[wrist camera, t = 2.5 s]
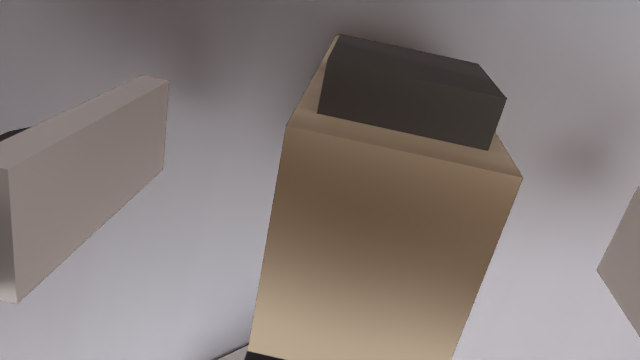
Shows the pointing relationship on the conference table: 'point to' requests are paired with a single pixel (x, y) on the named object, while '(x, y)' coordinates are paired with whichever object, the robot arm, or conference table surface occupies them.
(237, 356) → the container
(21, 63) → the conference table surface
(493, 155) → the tan box
